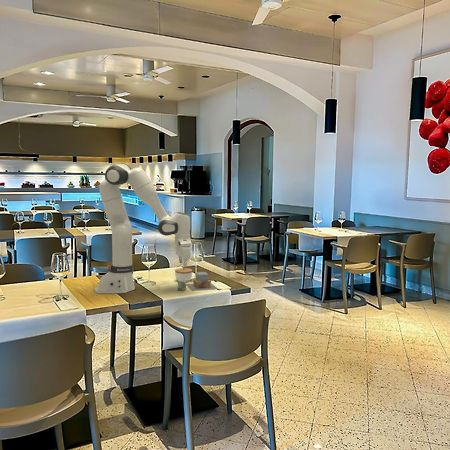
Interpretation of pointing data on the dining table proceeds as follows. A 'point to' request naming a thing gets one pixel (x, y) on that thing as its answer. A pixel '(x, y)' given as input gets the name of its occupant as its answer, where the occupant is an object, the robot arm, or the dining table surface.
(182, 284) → the olive green cylinder
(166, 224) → the robot arm
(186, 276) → the lidded jar
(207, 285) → the block
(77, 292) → the dining table surface
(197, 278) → the tower top
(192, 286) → the mat
